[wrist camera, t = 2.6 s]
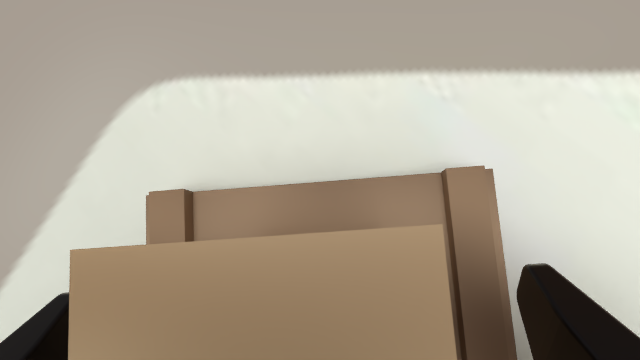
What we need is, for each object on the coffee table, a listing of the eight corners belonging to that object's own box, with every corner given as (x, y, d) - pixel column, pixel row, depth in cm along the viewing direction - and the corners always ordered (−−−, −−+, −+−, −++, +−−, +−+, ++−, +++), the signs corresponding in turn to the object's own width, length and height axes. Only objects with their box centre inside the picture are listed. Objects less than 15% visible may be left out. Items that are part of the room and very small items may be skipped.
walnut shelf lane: (509, 486, 15) (551, 553, 12) (179, 495, 16) (135, 559, 13) (472, 179, 17) (500, 164, 14) (175, 202, 18) (134, 192, 14)
